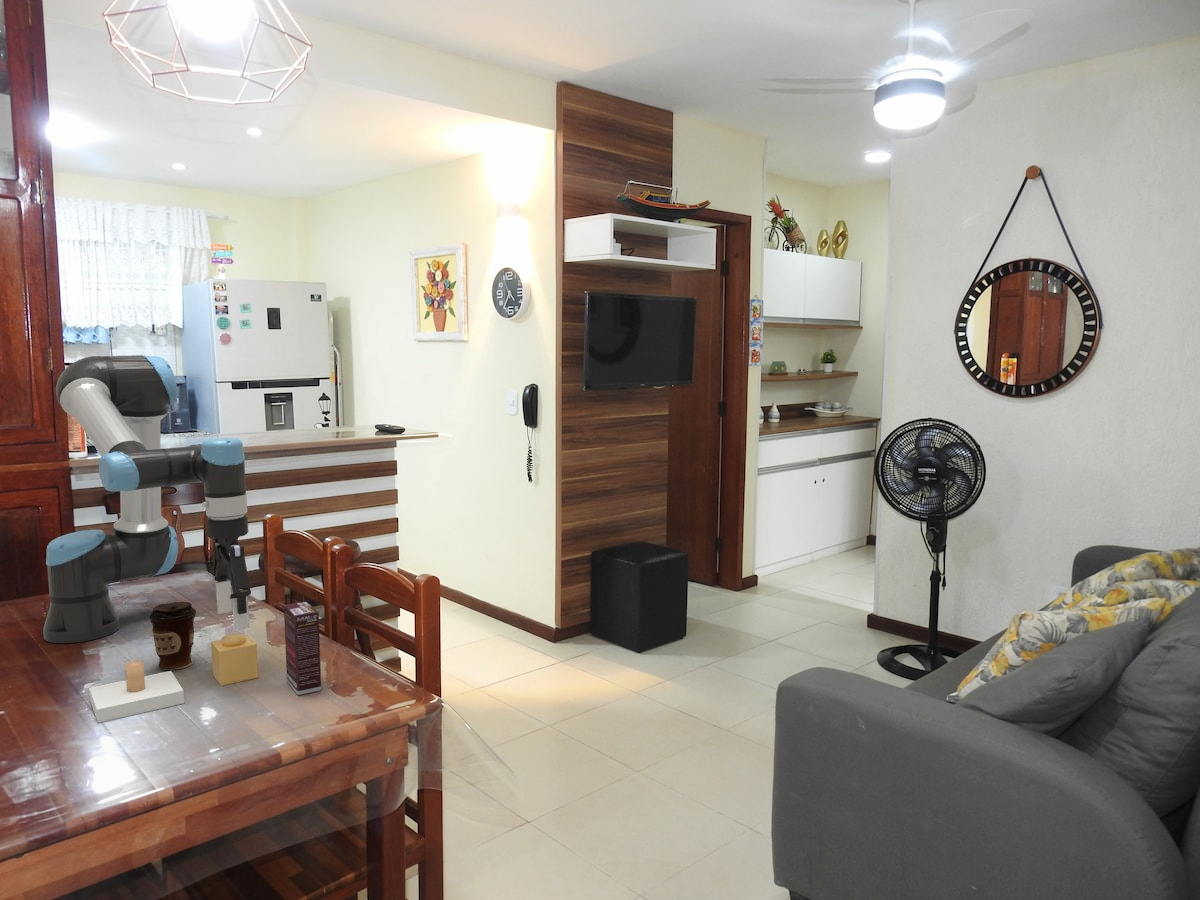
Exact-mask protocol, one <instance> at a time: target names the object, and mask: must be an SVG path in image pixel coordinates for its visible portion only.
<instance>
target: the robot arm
mask: <svg viewBox="0 0 1200 900" xmlns="http://www.w3.org/2000/svg"><path fill="white" fill-rule="evenodd" d="M55 395H56V399H57V402H58V404H59V406H61V409H62V410H63V411H64V412H65V413H67V414H68V415H69V416H72V417H73V418H75V419H76V421H77V422H78V424H79V426H80V427H81V428H82V429H83V431H84V433H85V434H86V436H87V437H88V438H89V440H90V442H91V443H92V444H93V446H94V447H95V449H96V451H97V452H98V453H99V455H100V459H99V463H98V474H99V475H98V476H99V479H100V480H101V485H102V488H104V489H105V491H106V490H107V491H108V492H120V495H119V496H120V497H119V499H120V500H119V501H120V517H119V519H118V520H116V521H115V522H113V533H109V534H106V533H105V531H104V530H103V529H98V528H97V529H93V528H92V529H86V530H85V529H84V530H80V531H75V532H70V533H67V534H64V535H61V536H59V537H56V538H54V539H53V540H51V541H50V542H49V543H48V545H47V547H46V559H45V565H46V567H47V578H48V579H47V580H48V589H49V590H48V591H49V601H50V602H49V608H48V612H47V614H46V619H45V622H44V626H43V632H42V633H43V640H45V641H46V642H49V643H52V644H53V643H54V644H55V643H56V644H72V643H80V642H81V643H82V642H87V641H93V640H96V639H100V638H104V637H106V636H109V635H111V634H114V633H115V632H117V631H119V629H120V627H121V625H120V617H119V615H118V612H117V611H116V610H117V609H115V606H114V604H113V602H112V600H111V598H110V593H109V591H110V590H109V585H111V584H116V583H122V582H127V581H132V580H138V579H144V578H153V577H155V576H159V575H163V574H166V573H168V572H170V570H171V571H172V569H173V568H174V565H175V564H176V561H177V558H178V553H179V541H178V536H177V533H176V529H175V528H174V527H172V526H170V525H169V521H168V520H167V519H166V518H164V517H163V516H162V490H161V489H162V487H169V486H170V487H171V486H181V485H190V484H191V485H192V484H197V483H198V484H201V483H202V484H203V488H204V489H203V490H204V495H203V496H204V500H205V501H202V503H201V506H202V507H204V508H205V516H207V517H208V518H207V519H206V521H205V522H206V523H205V525H206V536H207V537H208V538H209V539H213V560H212V572H211V574H212V577H213V578H214V582H215V594H216V610H217V612H216V613H217V614H218V615H219V614H220V615H221V614H225V613H231V612H232V616H233V620H232V621H233V630H234V631H235V632H236V631H241V630H247V629H250V627H251V626H250V613H249V611H250V610H249V609H250V607H249V596H251V594H252V591H251V585H250V580H249V575H248V569H247V564H246V563H247V561H246V557H245V546H244V544H239V538H240V537H245V536H246V535H248V533H249V523H248V517H247V515H246V514H247V513H248V499H247V496H248V495H247V492H246V491H247V490H246V489H247V487H246V469H245V464H246V463H245V461H246V460H245V459H246V457H245V453H244V445H243V441H242V440H241V439H239V438H237V437H215V438H207V439H205V440H203V441H202V443H197V444H189V445H185V446H178V447H168V448H161V420H162V419H164V418H165V417H166V416H167V415H168V406H172V405H174V404H175V403H176V402H177V398H178V386H177V381H176V377H175V373H174V372H173V369H172V367H171V365H170V364H169V362H168V361H167V360H166V359H165V358H163V357H161V356H158V355H157V356H156V355H143V354H141V355H139V354H138V355H137V354H136V355H105V356H103V355H102V356H101V355H92V356H88V357H83V358H81V359H78V360H75V361H74V362H72V363H71V364H70V365H68V366H67V367H66V368H65V369H64V370H63V371H62V373H61V374H60V376H59V377H58V379H57V383H56V386H55Z"/></svg>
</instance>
